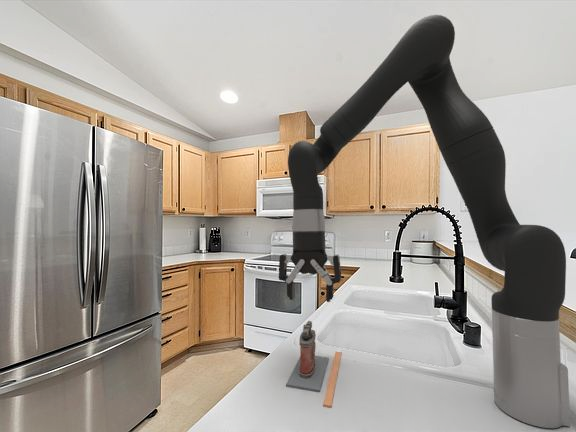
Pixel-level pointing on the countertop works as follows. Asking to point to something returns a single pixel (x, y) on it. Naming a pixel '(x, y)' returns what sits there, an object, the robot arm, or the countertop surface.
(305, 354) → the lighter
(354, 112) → the robot arm
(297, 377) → the mat
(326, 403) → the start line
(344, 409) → the countertop surface
